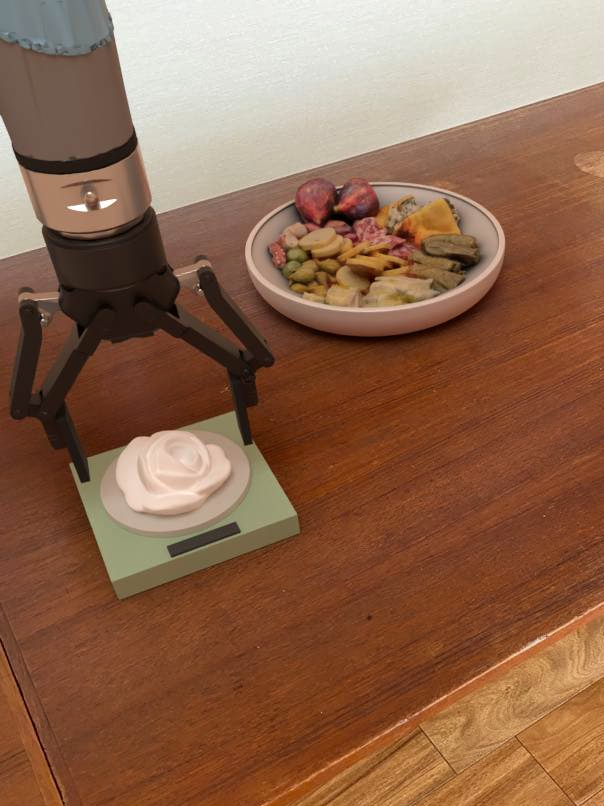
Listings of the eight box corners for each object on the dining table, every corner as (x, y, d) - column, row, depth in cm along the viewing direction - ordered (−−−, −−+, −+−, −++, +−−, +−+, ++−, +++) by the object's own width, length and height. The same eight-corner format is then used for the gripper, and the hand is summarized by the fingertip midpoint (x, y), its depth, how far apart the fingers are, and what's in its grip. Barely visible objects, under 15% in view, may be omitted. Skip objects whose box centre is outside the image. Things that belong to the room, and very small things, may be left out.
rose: (104, 416, 75) (217, 396, 76) (118, 454, 78) (226, 434, 80) (108, 493, 68) (231, 469, 70) (123, 532, 71) (240, 508, 73)
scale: (119, 600, 71) (108, 575, 68) (76, 482, 80) (65, 456, 78) (300, 533, 75) (296, 507, 73) (239, 429, 85) (233, 403, 83)
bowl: (555, 282, 102) (562, 219, 96) (353, 386, 89) (347, 320, 84) (395, 196, 118) (392, 137, 112) (204, 274, 105) (191, 212, 100)
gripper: (-107, 276, 53) (14, 518, 68) (292, 207, 58) (320, 447, 73) (-100, 220, 57) (12, 458, 73) (267, 161, 63) (298, 395, 78)
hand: (166, 453), depth 73 cm, fingers open, 13 cm apart
